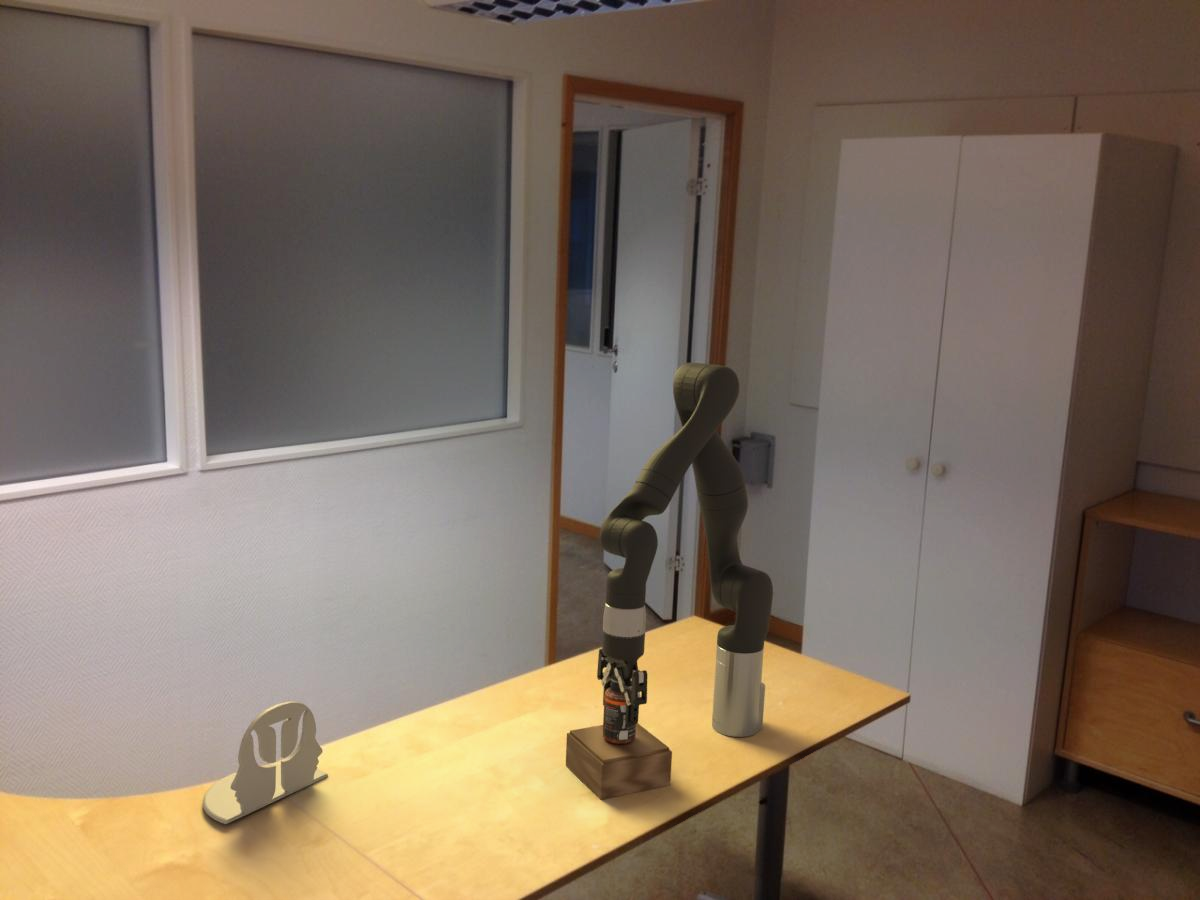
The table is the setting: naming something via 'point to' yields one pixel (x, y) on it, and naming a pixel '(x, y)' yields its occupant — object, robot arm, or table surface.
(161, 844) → the table surface
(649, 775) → the walnut block
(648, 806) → the table surface
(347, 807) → the table surface
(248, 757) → the ornament
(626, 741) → the supplement bottle
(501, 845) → the table surface
